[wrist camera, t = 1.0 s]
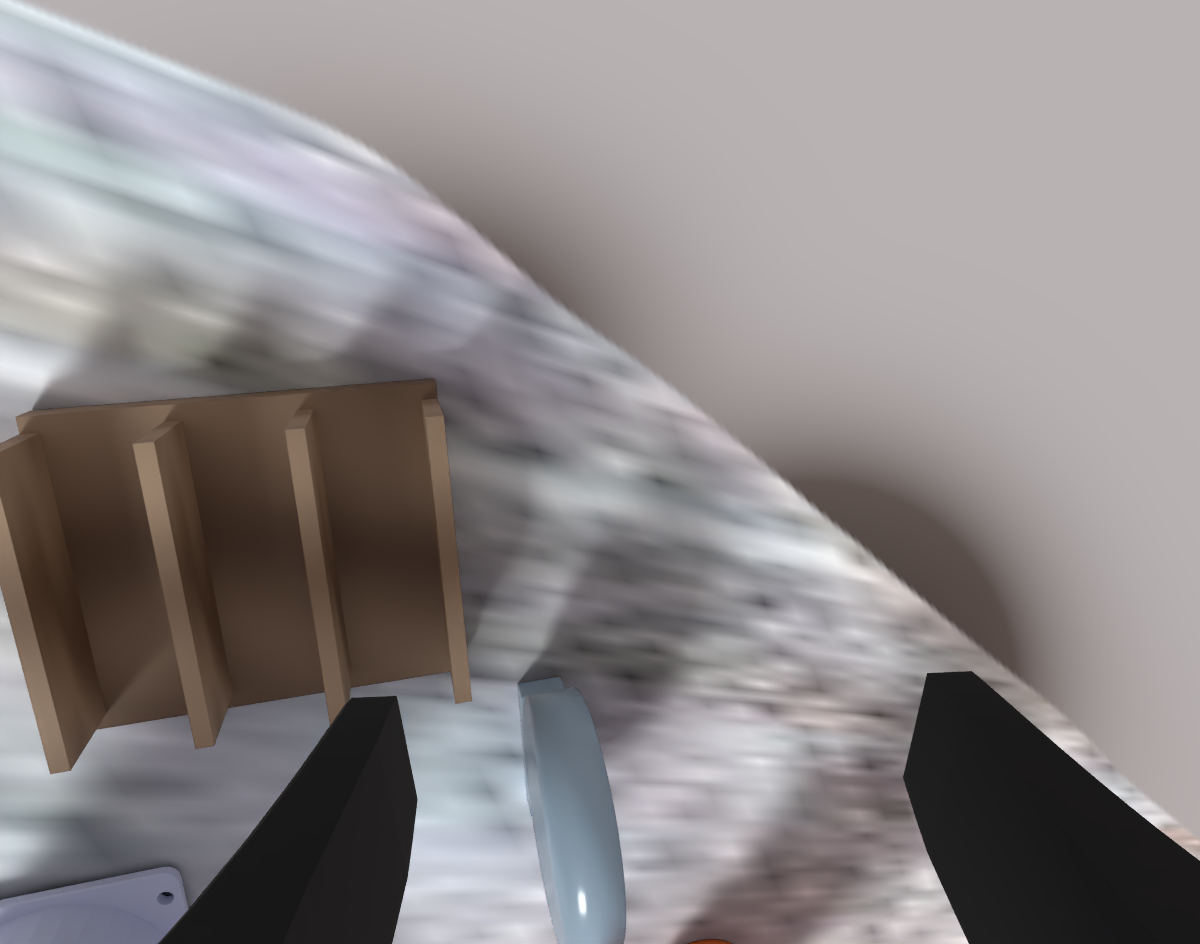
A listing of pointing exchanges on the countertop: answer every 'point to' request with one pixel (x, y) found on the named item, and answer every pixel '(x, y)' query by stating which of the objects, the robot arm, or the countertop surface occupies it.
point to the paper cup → (710, 942)
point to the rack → (227, 555)
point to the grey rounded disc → (572, 815)
